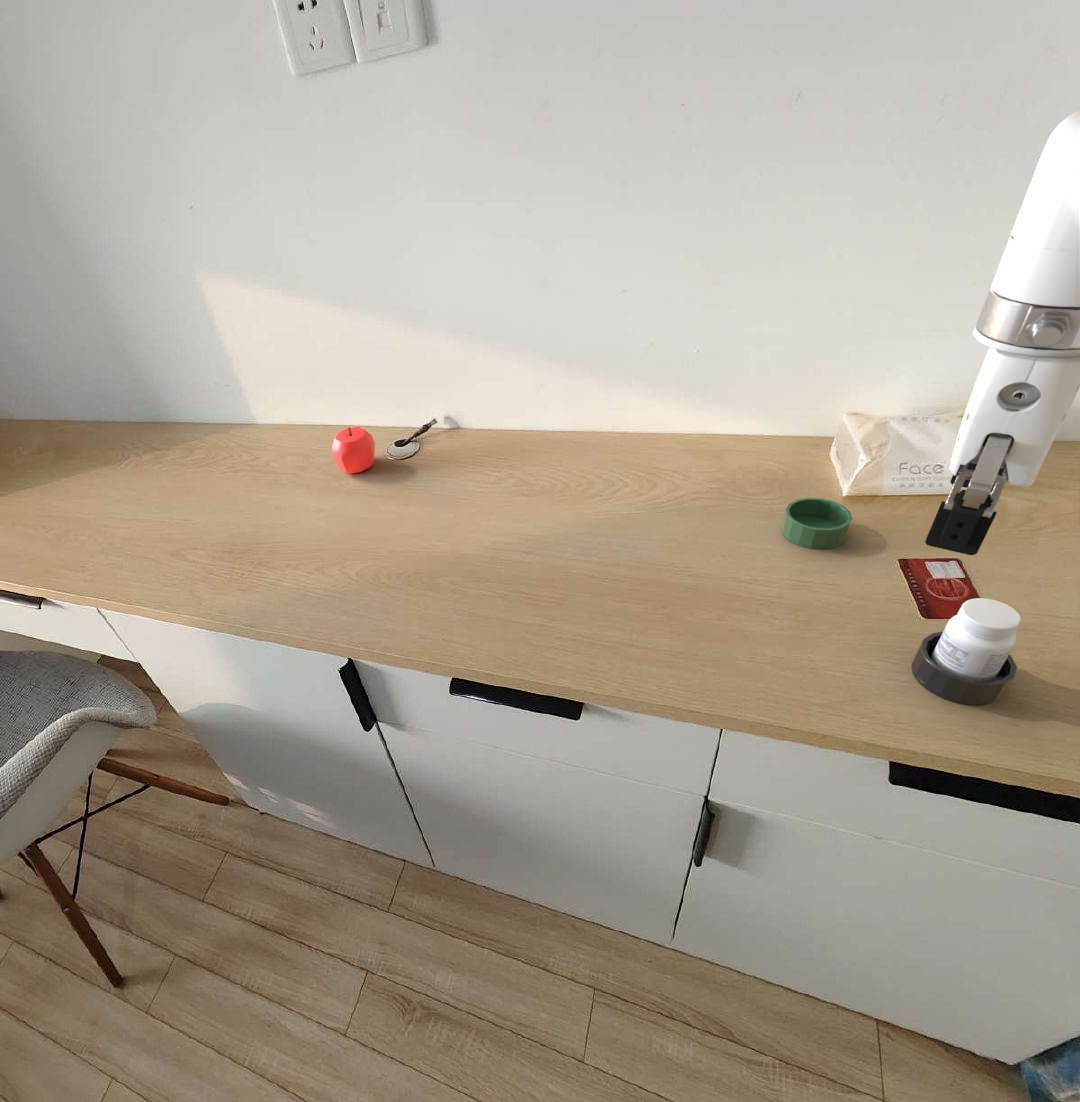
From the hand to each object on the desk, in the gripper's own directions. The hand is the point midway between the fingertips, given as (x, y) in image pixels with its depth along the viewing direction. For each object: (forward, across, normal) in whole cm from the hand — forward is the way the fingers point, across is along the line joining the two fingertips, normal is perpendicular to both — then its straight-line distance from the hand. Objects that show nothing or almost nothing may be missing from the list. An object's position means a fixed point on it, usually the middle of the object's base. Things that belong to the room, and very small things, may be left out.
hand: (962, 516), depth 55 cm
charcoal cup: (+19, +1, -5) cm, 19 cm away
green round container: (+19, +19, +12) cm, 29 cm away
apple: (+19, +5, +79) cm, 82 cm away
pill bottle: (+19, +1, -5) cm, 19 cm away
